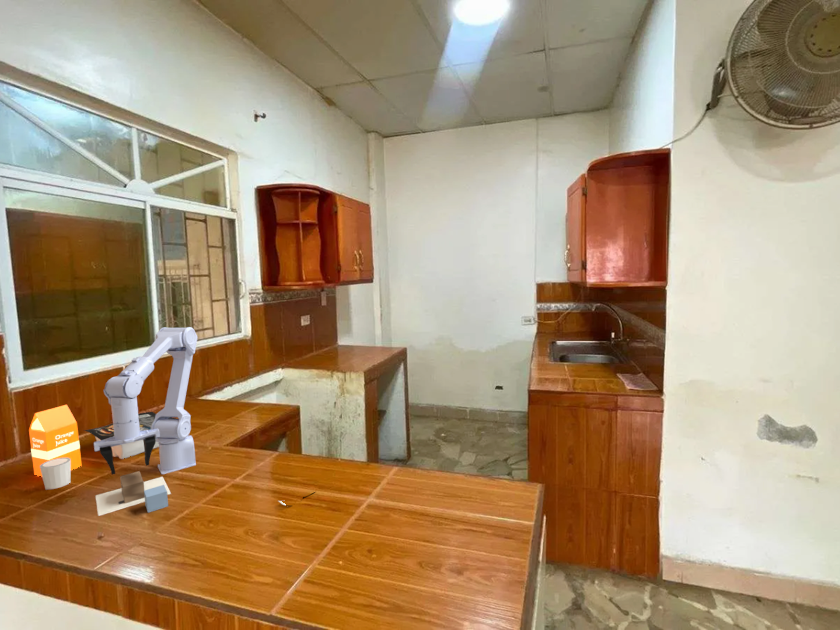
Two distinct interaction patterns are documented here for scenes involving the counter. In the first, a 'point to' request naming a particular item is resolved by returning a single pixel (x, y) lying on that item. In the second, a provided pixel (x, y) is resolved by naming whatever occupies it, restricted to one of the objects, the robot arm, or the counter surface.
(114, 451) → the food packaging
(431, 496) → the counter surface
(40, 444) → the orange juice
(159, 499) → the blue cube
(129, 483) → the walnut bar
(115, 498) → the letter mat
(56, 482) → the white cup
